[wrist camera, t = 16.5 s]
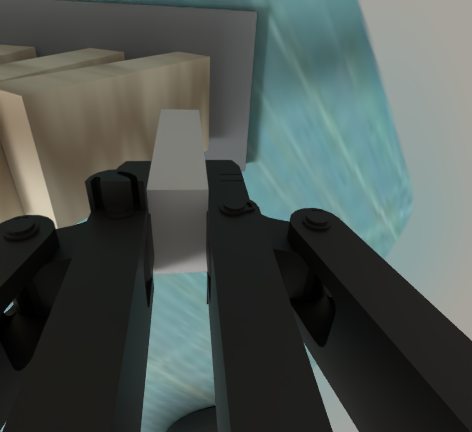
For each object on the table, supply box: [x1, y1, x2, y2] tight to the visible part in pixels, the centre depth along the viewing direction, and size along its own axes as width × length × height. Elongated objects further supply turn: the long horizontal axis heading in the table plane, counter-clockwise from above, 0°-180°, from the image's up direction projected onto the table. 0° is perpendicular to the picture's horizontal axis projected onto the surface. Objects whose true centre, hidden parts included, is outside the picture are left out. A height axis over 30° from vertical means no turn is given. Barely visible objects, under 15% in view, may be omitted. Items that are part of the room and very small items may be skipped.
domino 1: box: [0, 48, 125, 223], centre depth 15 cm, size 5×2×10 cm, turn 177°
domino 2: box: [0, 52, 210, 229], centre depth 16 cm, size 5×2×10 cm
